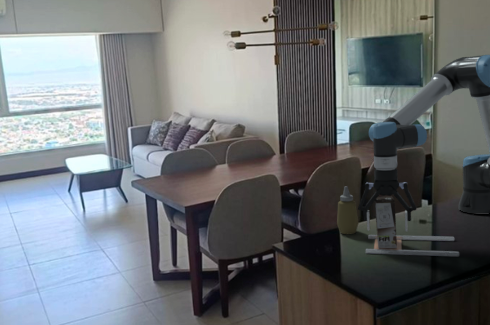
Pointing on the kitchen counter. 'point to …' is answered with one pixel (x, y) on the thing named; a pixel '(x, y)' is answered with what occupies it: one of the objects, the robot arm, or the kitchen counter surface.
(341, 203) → the squeeze bottle
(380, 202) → the coffee box
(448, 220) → the kitchen counter surface
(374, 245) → the pad
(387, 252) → the rail
